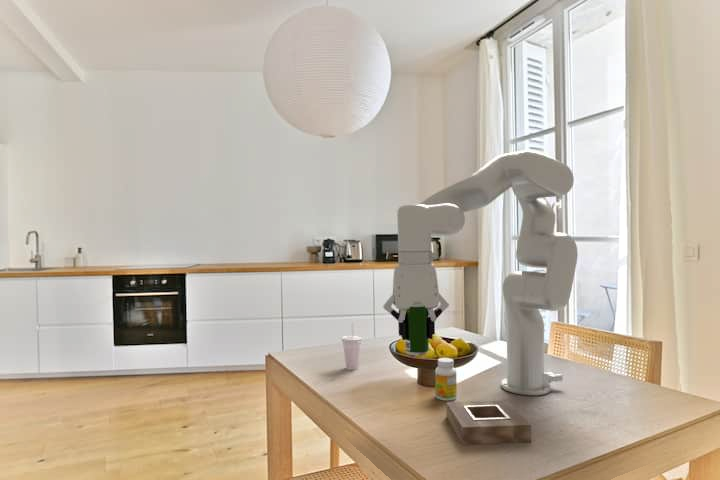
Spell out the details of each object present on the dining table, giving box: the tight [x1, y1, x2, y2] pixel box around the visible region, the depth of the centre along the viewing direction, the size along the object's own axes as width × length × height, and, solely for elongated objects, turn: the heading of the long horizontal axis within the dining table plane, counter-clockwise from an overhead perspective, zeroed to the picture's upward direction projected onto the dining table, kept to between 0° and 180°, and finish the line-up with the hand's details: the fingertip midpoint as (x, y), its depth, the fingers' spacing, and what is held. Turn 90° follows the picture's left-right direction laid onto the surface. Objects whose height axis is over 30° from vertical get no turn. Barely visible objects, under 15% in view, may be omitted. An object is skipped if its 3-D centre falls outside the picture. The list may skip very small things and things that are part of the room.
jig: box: [445, 399, 532, 446], centre depth 103 cm, size 14×14×4 cm
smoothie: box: [341, 323, 363, 371], centre depth 149 cm, size 6×6×14 cm
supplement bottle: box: [434, 357, 458, 402], centre depth 122 cm, size 5×5×10 cm
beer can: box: [404, 302, 430, 357], centre depth 109 cm, size 5×5×12 cm
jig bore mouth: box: [463, 405, 510, 421], centre depth 103 cm, size 8×8×1 cm
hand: (416, 337), depth 109 cm, fingers closed on beer can, 5 cm apart
